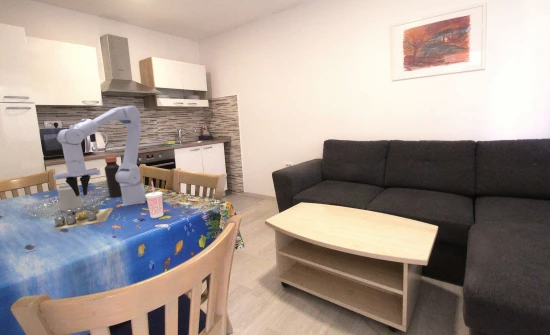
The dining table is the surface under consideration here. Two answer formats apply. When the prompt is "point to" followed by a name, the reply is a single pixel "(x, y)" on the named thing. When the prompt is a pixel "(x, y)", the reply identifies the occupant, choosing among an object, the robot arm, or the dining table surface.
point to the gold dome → (81, 215)
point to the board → (101, 217)
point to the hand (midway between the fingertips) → (81, 195)
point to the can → (68, 197)
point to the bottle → (112, 177)
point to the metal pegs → (71, 216)
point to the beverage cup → (155, 203)
